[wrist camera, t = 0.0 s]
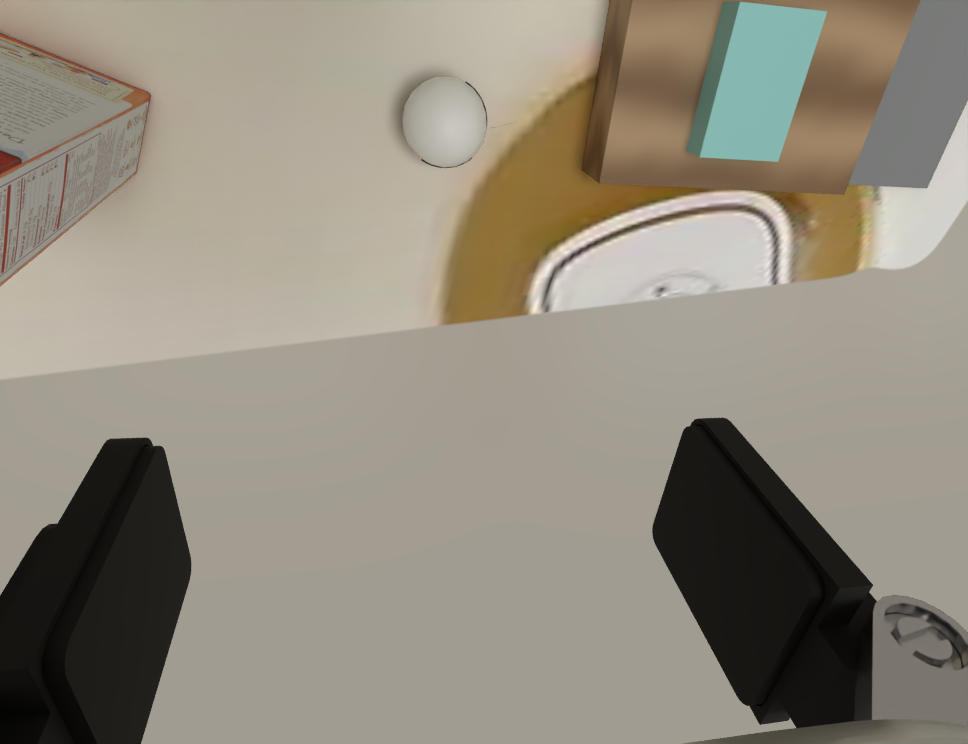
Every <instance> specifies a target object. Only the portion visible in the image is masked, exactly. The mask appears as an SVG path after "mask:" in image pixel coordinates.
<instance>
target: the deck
mask: <svg viewBox="0 0 968 744" xmlns="http://www.w3.org/2000/svg"><path fill="white" fill-rule="evenodd" d="M723 2H747V3H756V4H765V5H774V6H783V7H792V8H801V9H810V10H819V11H827V14H826V17H825V20H824V23H823V26H822V29H821V32H820V36H819V39H818V42H817V45H816V48H815V51H814V54H813V57H812V60H811V63H810V66H809V69H808V72H807V75H806V78H805V81H804V84H803V87H802V90H801V94H800V97H799V100H798V103H797V106H796V109H795V112H794V115H793V118H792V121H791V124H790V127H789V130H788V133H787V136H786V139H785V142H784V145H783V148H782V152H781V155H780V158H779V161H778V162H773V161H755V160H738V159H720V158H702V157H698V156H696V155H693V154H691V153H689V152H687V151H686V150H687V146H688V142H689V138H690V134H691V130H692V126H693V122H694V118H695V114H696V110H697V105H698V101H699V97H700V93H701V89H702V85H703V81H704V77H705V73H706V69H707V65H708V61H709V57H710V53H711V49H712V45H713V41H714V37H715V33H716V29H717V25H718V21H719V17H720V13H721V9H722V5H723ZM919 3H920V0H610V3H609V9H608V15H607V21H606V27H605V33H604V39H603V45H602V51H601V58H600V64H599V70H598V76H597V82H596V88H595V94H594V100H593V106H592V112H591V118H590V124H589V130H588V136H587V142H586V148H585V154H584V161H583V167H582V170H583V171H584V172H585V173H587V174H588V175H589V176H590V177H592V178H593V179H594V180H596V181H597V182H598V183H602V184H624V185H646V186H667V187H689V188H711V189H733V190H755V191H776V192H798V193H820V194H842V195H844V194H845V191H846V189H847V186H848V183H849V181H850V178H851V176H852V173H853V171H854V168H855V166H856V163H857V161H858V158H859V156H860V153H861V150H862V148H863V145H864V143H865V140H866V138H867V135H868V133H869V130H870V128H871V125H872V122H873V120H874V117H875V115H876V112H877V110H878V107H879V105H880V102H881V100H882V97H883V94H884V92H885V89H886V87H887V84H888V82H889V79H890V77H891V74H892V72H893V69H894V67H895V64H896V61H897V59H898V56H899V54H900V51H901V49H902V46H903V44H904V41H905V39H906V36H907V33H908V31H909V28H910V26H911V23H912V21H913V18H914V16H915V13H916V11H917V8H918V6H919Z"/></svg>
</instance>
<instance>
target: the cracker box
mask: <svg viewBox="0 0 968 744" xmlns="http://www.w3.org/2000/svg"><path fill="white" fill-rule="evenodd" d="M150 96H151V95H150V94H149V93H147V92H145V91H142V90H140V89H137V88H135V87H132V86H130V85H127V84H125V83H122V82H120V81H117V80H115V79H112V78H110V77H107V76H105V75H103V74H100V73H98V72H95V71H93V70H90V69H88V68H85V67H83V66H80V65H78V64H75V63H73V62H70V61H67V60H65V59H62V58H60V57H57V56H55V55H52V54H50V53H47V52H45V51H42V50H40V49H37V48H35V47H32V46H30V45H27V44H25V43H23V42H20V41H18V40H15V39H13V38H10V37H8V36H5V35H3V34H0V286H1V285H3V284H4V283H5V282H6V281H7V280H9V279H10V278H11V277H12V276H13V275H14V274H16V273H17V272H18V271H19V270H21V269H22V268H23V267H24V266H26V265H27V264H28V263H29V262H30V261H32V260H33V259H34V258H35V257H36V256H38V255H39V254H40V253H41V252H42V251H44V250H45V249H46V248H47V247H48V246H49V245H51V244H52V243H53V242H54V241H55V240H57V239H58V238H59V237H60V236H62V235H63V234H64V233H65V232H66V231H67V230H69V229H70V228H71V227H72V226H73V225H75V224H76V223H77V222H78V221H79V220H81V219H82V218H83V217H84V216H85V215H87V214H88V213H89V212H90V211H91V210H93V209H94V208H95V207H96V206H97V205H98V204H100V203H101V202H102V201H103V200H105V199H106V198H107V197H108V196H109V195H111V194H112V193H113V192H114V191H116V190H117V189H118V188H119V187H120V186H122V185H123V184H124V183H125V182H126V181H127V180H128V179H130V178H131V177H132V176H133V175H135V174H136V170H137V164H138V159H139V154H140V149H141V143H142V138H143V133H144V127H145V121H146V116H147V111H148V105H149V100H150Z"/></svg>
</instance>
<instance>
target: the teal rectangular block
mask: <svg viewBox="0 0 968 744" xmlns="http://www.w3.org/2000/svg"><path fill="white" fill-rule="evenodd" d="M826 14H827V11H819V10H810V9H801V8H792V7H783V6H774V5H765V4H756V3H747V2H723V5H722V9H721V13H720V17H719V21H718V25H717V29H716V33H715V37H714V41H713V45H712V49H711V53H710V57H709V61H708V65H707V69H706V73H705V77H704V81H703V85H702V89H701V93H700V97H699V101H698V105H697V110H696V114H695V118H694V122H693V126H692V130H691V134H690V138H689V142H688V146H687V150H686V151H687V152H689V153H691V154H693V155H696V156H698V157H702V158H720V159H738V160H755V161H773V162H778V161H779V158H780V155H781V152H782V148H783V145H784V142H785V139H786V136H787V133H788V130H789V127H790V124H791V121H792V118H793V115H794V112H795V109H796V106H797V103H798V100H799V97H800V94H801V90H802V87H803V84H804V81H805V78H806V75H807V72H808V69H809V66H810V63H811V60H812V57H813V54H814V51H815V48H816V45H817V42H818V39H819V36H820V32H821V29H822V26H823V23H824V20H825V17H826Z"/></svg>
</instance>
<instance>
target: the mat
mask: <svg viewBox="0 0 968 744" xmlns="http://www.w3.org/2000/svg"><path fill="white" fill-rule="evenodd" d="M967 101H968V0H920V3H919V6H918V8H917V11H916V13H915V16H914V18H913V21H912V23H911V26H910V28H909V31H908V33H907V36H906V39H905V41H904V44H903V46H902V49H901V51H900V54H899V56H898V59H897V61H896V64H895V67H894V69H893V72H892V74H891V77H890V79H889V82H888V84H887V87H886V89H885V92H884V94H883V97H882V100H881V102H880V105H879V107H878V110H877V112H876V115H875V117H874V120H873V122H872V125H871V128H870V130H869V133H868V135H867V138H866V140H865V143H864V145H863V148H862V150H861V153H860V156H859V158H858V161H857V163H856V166H855V168H854V171H853V173H852V176H851V178H850V181H849V183H848V184H852V185H872V186H892V187H912V188H927V187H928V185H929V183H930V181H931V179H932V176H933V174H934V172H935V170H936V168H937V166H938V163H939V161H940V159H941V157H942V155H943V153H944V150H945V148H946V146H947V144H948V142H949V140H950V137H951V135H952V133H953V131H954V129H955V127H956V124H957V122H958V120H959V118H960V116H961V114H962V111H963V109H964V107H965V105H966V103H967Z"/></svg>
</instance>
